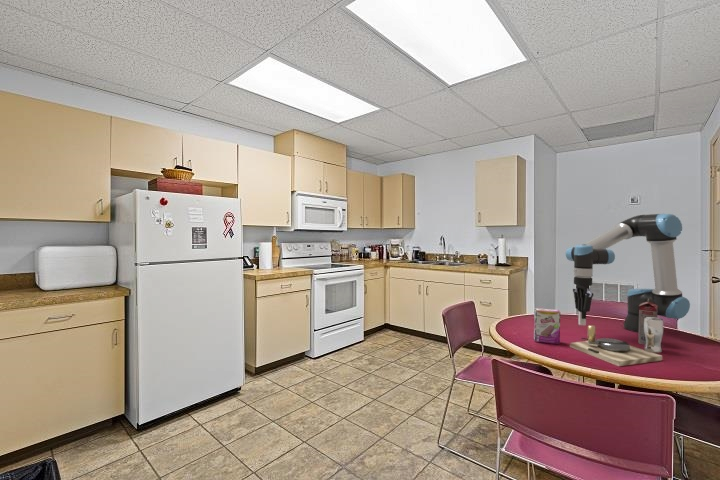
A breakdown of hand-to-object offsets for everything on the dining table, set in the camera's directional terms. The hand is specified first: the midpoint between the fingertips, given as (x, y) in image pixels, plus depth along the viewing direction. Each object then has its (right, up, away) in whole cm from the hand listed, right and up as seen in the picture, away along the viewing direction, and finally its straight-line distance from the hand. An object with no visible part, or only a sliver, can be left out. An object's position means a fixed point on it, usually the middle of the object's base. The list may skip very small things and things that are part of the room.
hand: (582, 324), depth 165 cm
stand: (+7, -10, -11) cm, 17 cm away
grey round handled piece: (+5, -8, -9) cm, 13 cm away
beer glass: (+28, -10, -7) cm, 31 cm away
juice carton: (+34, -10, +2) cm, 36 cm away
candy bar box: (-14, -10, +6) cm, 18 cm away
